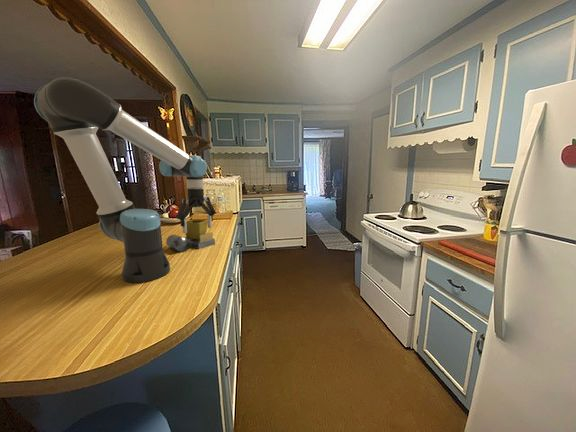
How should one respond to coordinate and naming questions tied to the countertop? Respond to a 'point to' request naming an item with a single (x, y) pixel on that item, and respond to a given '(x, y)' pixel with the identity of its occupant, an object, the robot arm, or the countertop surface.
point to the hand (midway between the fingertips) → (198, 230)
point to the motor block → (190, 242)
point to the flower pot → (196, 228)
